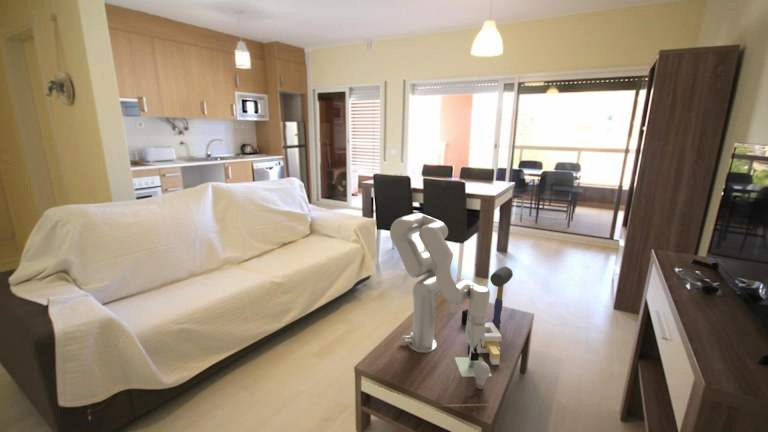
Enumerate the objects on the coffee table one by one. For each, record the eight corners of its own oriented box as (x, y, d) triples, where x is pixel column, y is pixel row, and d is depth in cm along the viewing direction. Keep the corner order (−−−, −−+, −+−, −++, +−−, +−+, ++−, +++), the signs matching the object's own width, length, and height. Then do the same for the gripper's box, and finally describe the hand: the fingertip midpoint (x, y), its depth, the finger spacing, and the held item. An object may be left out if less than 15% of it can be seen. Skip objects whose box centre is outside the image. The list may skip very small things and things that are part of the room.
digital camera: (469, 328, 174) (470, 315, 172) (461, 323, 178) (462, 310, 176) (483, 322, 179) (485, 310, 177) (475, 318, 184) (476, 305, 182)
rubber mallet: (498, 333, 170) (505, 275, 163) (483, 327, 175) (489, 270, 167) (508, 322, 179) (514, 267, 172) (493, 317, 184) (499, 263, 177)
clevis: (483, 365, 146) (485, 347, 144) (469, 339, 164) (471, 322, 162) (507, 365, 146) (509, 347, 144) (490, 338, 165) (492, 322, 163)
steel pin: (468, 369, 142) (471, 338, 139) (465, 362, 147) (468, 332, 143) (478, 369, 143) (482, 338, 139) (475, 362, 147) (478, 332, 143)
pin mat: (462, 377, 138) (462, 376, 138) (454, 358, 150) (454, 357, 150) (491, 377, 139) (492, 376, 139) (481, 358, 151) (482, 357, 151)
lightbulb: (468, 389, 132) (471, 364, 129) (474, 380, 137) (476, 355, 134) (484, 396, 129) (487, 370, 126) (490, 387, 134) (492, 361, 131)
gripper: (462, 306, 147) (458, 345, 151) (474, 328, 131) (469, 370, 135) (479, 306, 147) (475, 345, 152) (494, 328, 132) (488, 370, 136)
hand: (472, 357), depth 144 cm, fingers closed on steel pin, 3 cm apart
